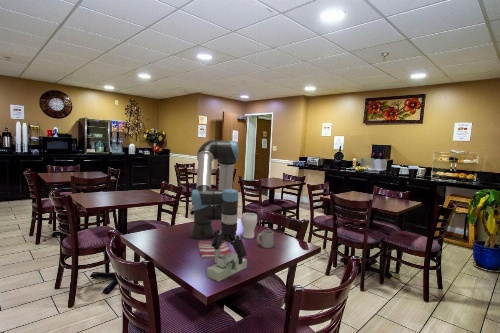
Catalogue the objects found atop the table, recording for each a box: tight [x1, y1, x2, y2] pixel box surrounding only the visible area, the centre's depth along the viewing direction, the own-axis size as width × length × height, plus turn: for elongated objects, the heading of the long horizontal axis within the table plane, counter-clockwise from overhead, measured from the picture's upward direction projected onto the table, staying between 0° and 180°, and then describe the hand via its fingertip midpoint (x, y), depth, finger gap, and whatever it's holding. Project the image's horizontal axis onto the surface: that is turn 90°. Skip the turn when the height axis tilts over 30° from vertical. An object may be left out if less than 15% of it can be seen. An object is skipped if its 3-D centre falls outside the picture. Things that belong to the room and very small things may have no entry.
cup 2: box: [256, 229, 275, 249], centre depth 171 cm, size 7×10×9 cm
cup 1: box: [240, 212, 258, 239], centre depth 187 cm, size 11×11×15 cm
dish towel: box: [197, 240, 232, 260], centre depth 161 cm, size 17×23×3 cm
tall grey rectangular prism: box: [216, 251, 237, 269], centre depth 134 cm, size 10×4×7 cm, turn 142°
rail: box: [206, 256, 248, 282], centre depth 134 cm, size 20×7×4 cm, turn 142°
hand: (227, 266), depth 135 cm, fingers open, 13 cm apart
